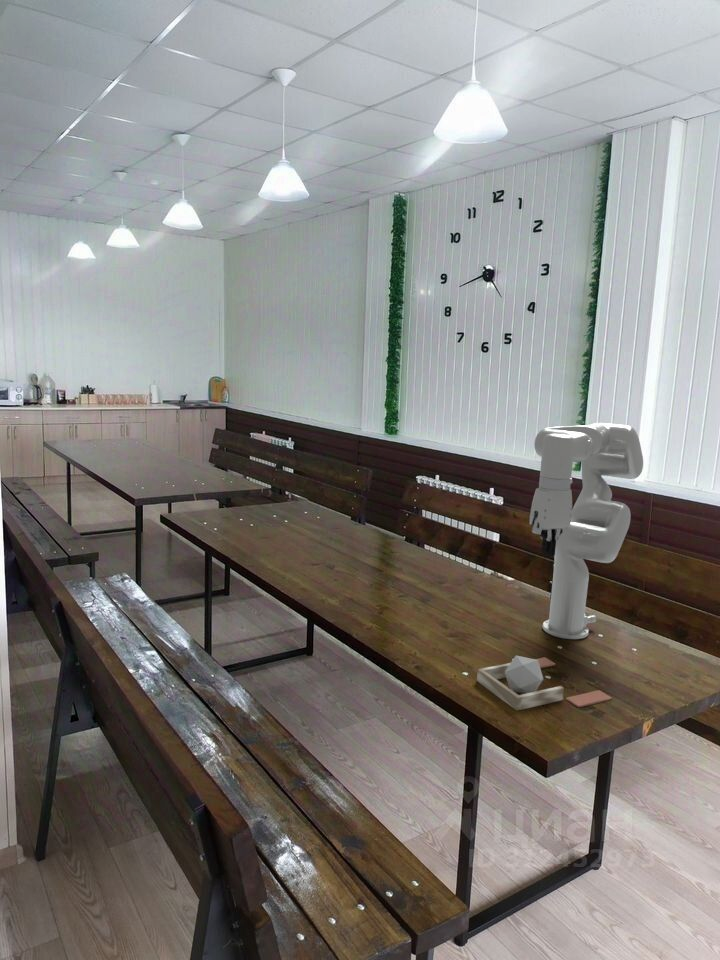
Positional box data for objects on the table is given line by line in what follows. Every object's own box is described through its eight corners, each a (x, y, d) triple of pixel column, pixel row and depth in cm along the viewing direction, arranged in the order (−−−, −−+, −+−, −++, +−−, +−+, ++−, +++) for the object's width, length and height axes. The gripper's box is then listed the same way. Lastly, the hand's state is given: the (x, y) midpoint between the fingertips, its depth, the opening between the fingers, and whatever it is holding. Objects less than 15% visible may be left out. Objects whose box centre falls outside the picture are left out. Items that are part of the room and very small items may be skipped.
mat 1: (544, 658, 183) (545, 657, 183) (555, 665, 180) (555, 663, 180) (513, 664, 179) (513, 663, 179) (523, 671, 175) (523, 669, 175)
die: (545, 690, 167) (529, 651, 171) (552, 689, 159) (535, 647, 162) (513, 702, 167) (497, 662, 170) (518, 701, 159) (501, 659, 162)
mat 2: (599, 691, 167) (599, 690, 167) (611, 699, 163) (611, 697, 163) (566, 699, 162) (566, 697, 162) (578, 707, 159) (578, 705, 159)
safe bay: (520, 672, 175) (521, 660, 174) (562, 700, 162) (563, 687, 161) (476, 681, 169) (477, 669, 169) (516, 710, 156) (517, 698, 156)
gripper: (567, 479, 184) (560, 548, 187) (521, 482, 177) (515, 553, 181) (588, 485, 177) (581, 556, 180) (541, 488, 171) (534, 561, 174)
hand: (548, 554), depth 181 cm, fingers closed
